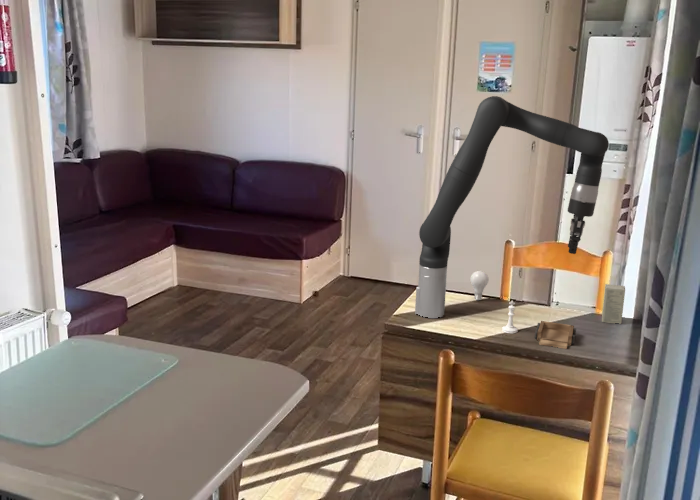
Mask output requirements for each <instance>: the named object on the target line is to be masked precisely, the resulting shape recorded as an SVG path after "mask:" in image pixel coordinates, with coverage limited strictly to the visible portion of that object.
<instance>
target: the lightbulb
mask: <svg viewBox="0 0 700 500" xmlns="http://www.w3.org/2000/svg"><path fill="white" fill-rule="evenodd" d="M469 281H470V283H471V286H472V288H473V291H474V297H473V299H474V300H476V301H478V302H479V301H481V300H482V299H483V292H484V290H485V288H486V286H487V285H488V284H489V276H488V274H487V273H486V272H485V271H483V270H476V271H474V272H472V273H471V276H470V279H469Z"/></svg>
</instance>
